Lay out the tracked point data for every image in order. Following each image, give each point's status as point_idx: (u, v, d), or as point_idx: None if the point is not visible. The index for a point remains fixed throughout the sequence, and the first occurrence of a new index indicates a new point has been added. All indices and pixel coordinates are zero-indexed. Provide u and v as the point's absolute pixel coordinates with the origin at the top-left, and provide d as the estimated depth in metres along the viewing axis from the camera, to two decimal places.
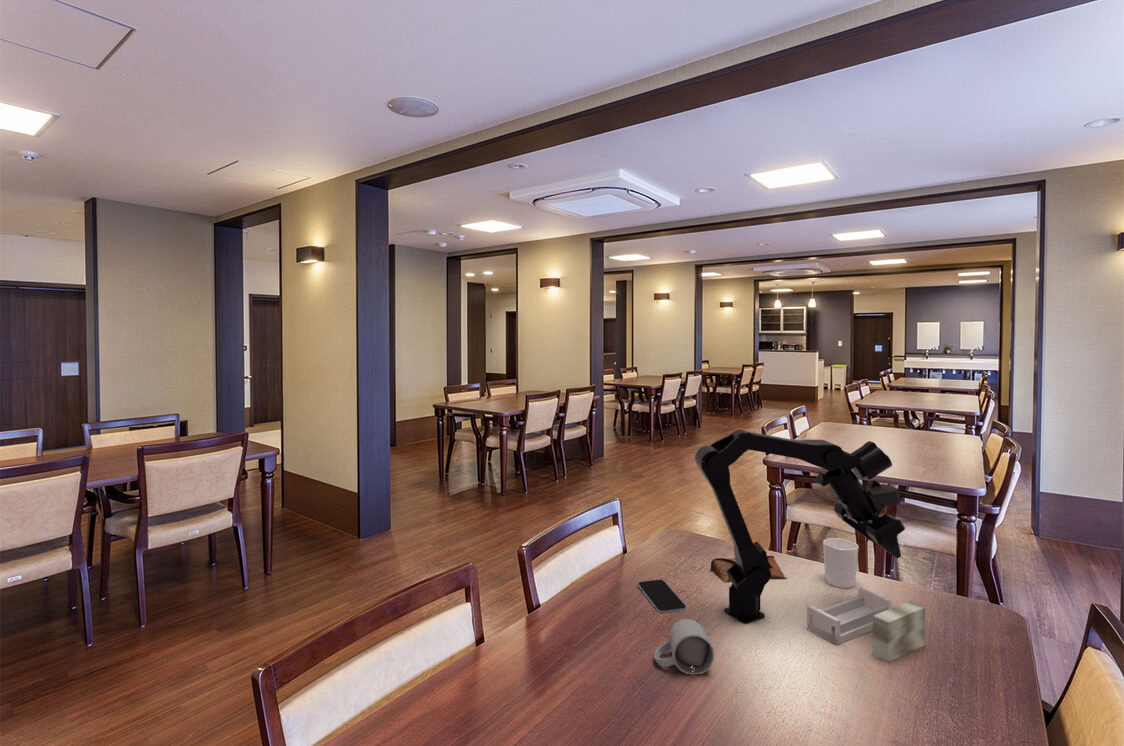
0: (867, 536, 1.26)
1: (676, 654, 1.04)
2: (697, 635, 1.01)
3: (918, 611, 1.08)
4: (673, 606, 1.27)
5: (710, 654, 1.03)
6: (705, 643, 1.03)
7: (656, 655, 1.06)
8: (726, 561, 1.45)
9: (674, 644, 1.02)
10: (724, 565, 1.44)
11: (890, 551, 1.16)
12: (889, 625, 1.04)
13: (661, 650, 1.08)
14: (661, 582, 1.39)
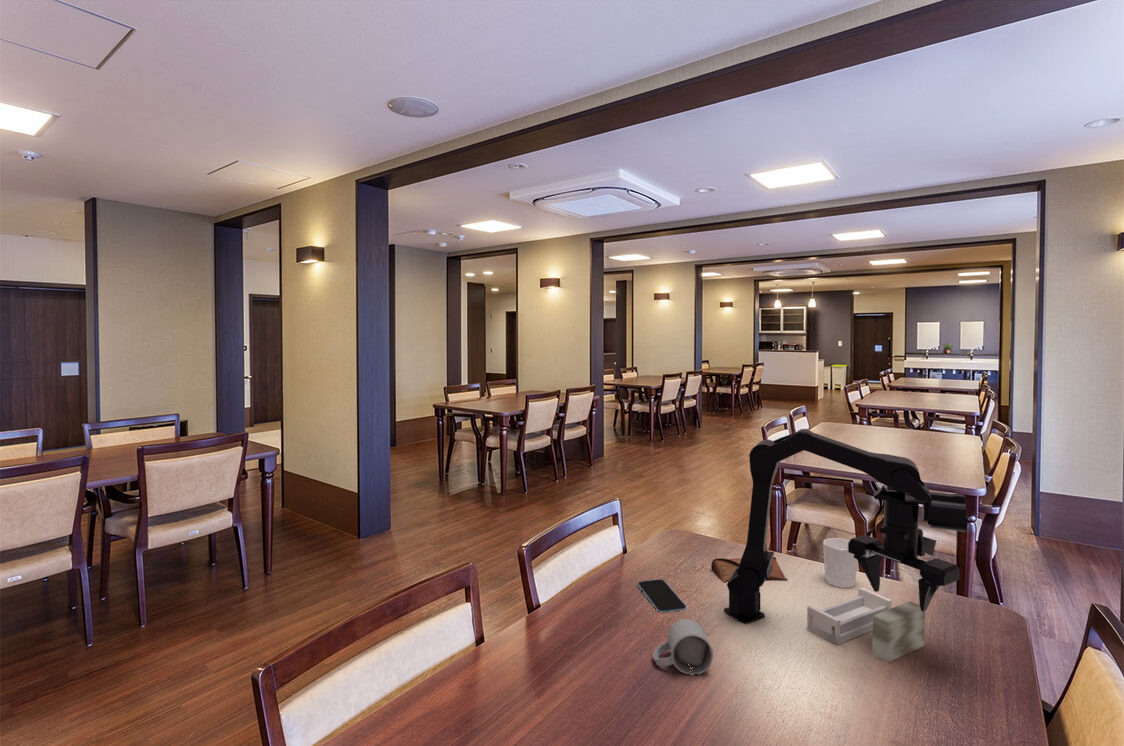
0: (874, 582, 1.11)
1: (675, 654, 1.04)
2: (696, 635, 1.01)
3: (918, 611, 1.08)
4: (673, 606, 1.27)
5: (709, 654, 1.03)
6: (704, 643, 1.03)
7: (655, 655, 1.06)
8: (726, 561, 1.45)
9: (673, 644, 1.02)
10: (724, 565, 1.44)
11: (925, 600, 1.02)
12: (889, 625, 1.04)
13: (660, 650, 1.08)
14: (661, 582, 1.39)
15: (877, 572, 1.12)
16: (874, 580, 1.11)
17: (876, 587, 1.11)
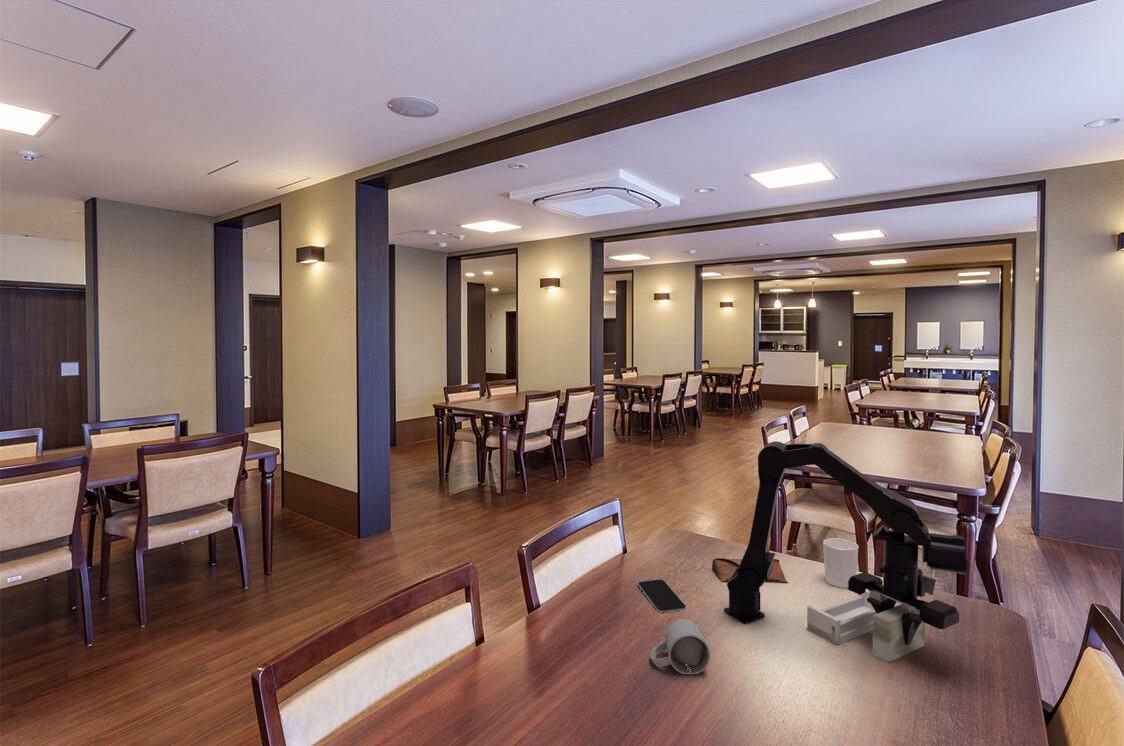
0: None
1: (672, 654, 1.04)
2: (693, 635, 1.01)
3: None
4: (673, 606, 1.27)
5: (706, 654, 1.03)
6: (701, 643, 1.03)
7: (652, 655, 1.06)
8: (727, 561, 1.45)
9: (670, 644, 1.02)
10: (723, 565, 1.44)
11: (909, 635, 1.05)
12: (889, 625, 1.04)
13: (657, 650, 1.08)
14: (661, 582, 1.39)
15: None
16: None
17: None
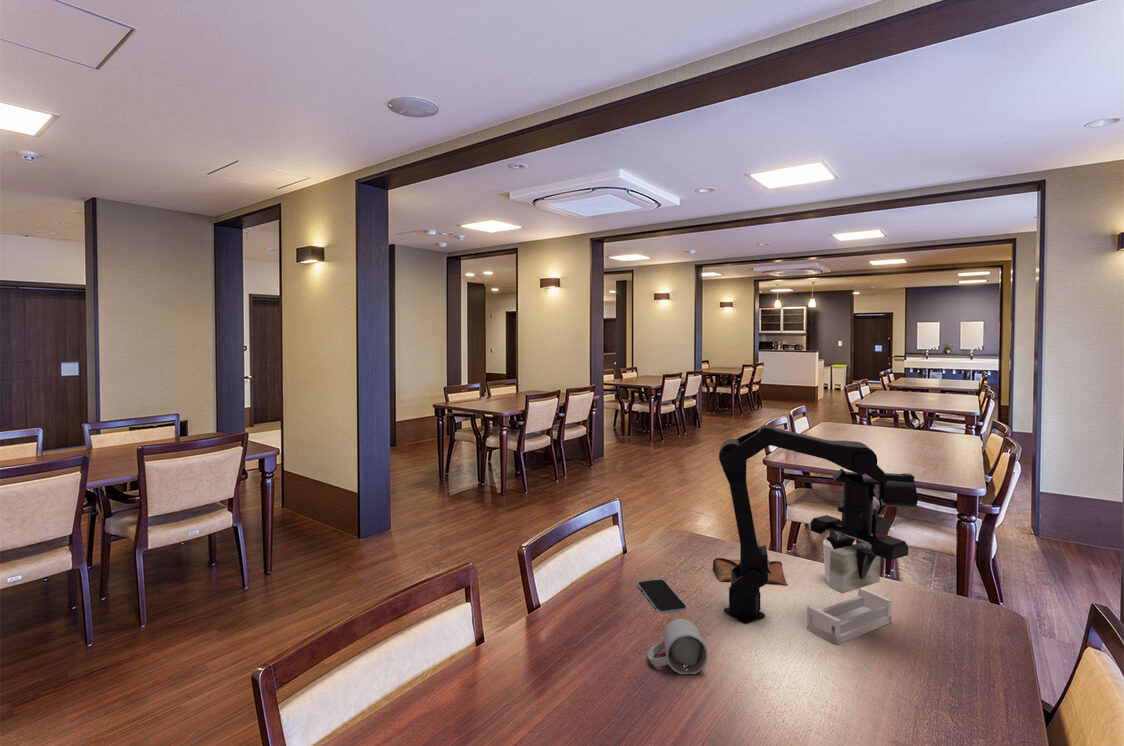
0: None
1: (670, 654, 1.04)
2: (690, 635, 1.01)
3: None
4: (673, 606, 1.27)
5: (704, 654, 1.03)
6: (699, 643, 1.03)
7: (650, 655, 1.06)
8: (727, 562, 1.45)
9: (668, 644, 1.02)
10: (723, 565, 1.44)
11: (863, 568, 1.13)
12: (844, 558, 1.12)
13: (655, 650, 1.08)
14: (661, 582, 1.39)
15: None
16: None
17: None
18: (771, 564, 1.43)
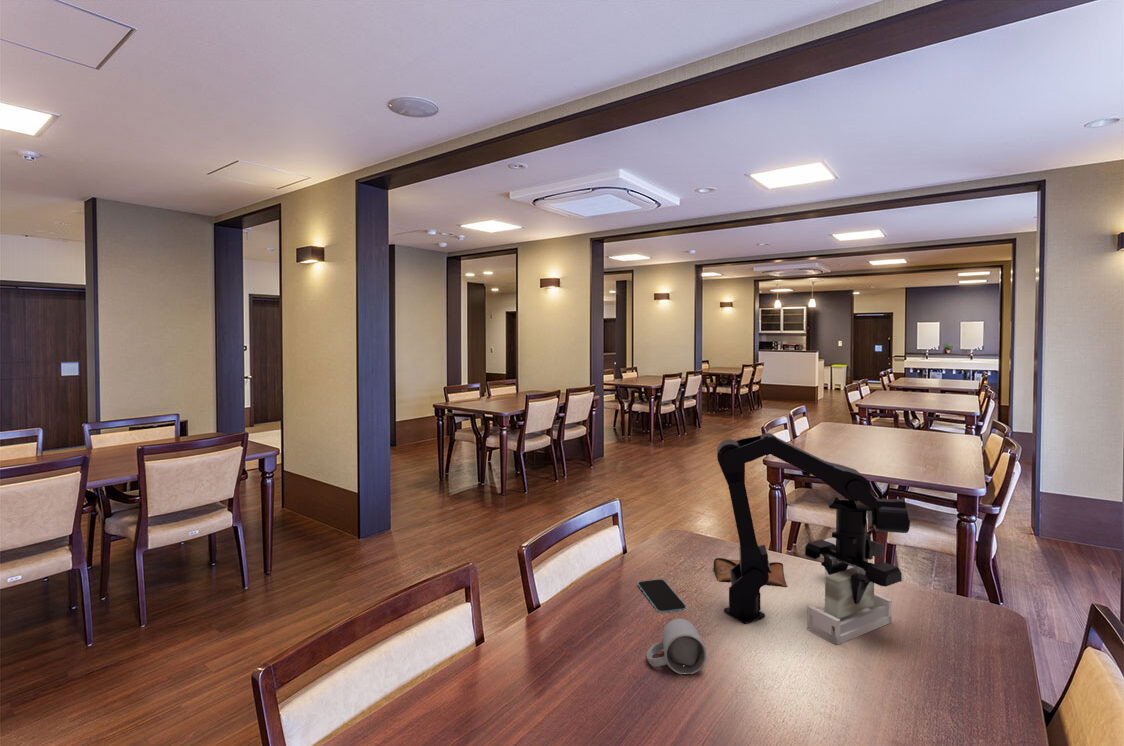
0: None
1: (668, 654, 1.04)
2: (689, 635, 1.01)
3: None
4: (673, 606, 1.27)
5: (702, 654, 1.03)
6: (697, 643, 1.03)
7: (649, 655, 1.06)
8: (727, 562, 1.45)
9: (666, 644, 1.02)
10: (723, 565, 1.44)
11: (858, 594, 1.14)
12: (839, 584, 1.13)
13: (654, 650, 1.08)
14: (661, 581, 1.39)
15: None
16: None
17: None
18: (772, 565, 1.42)
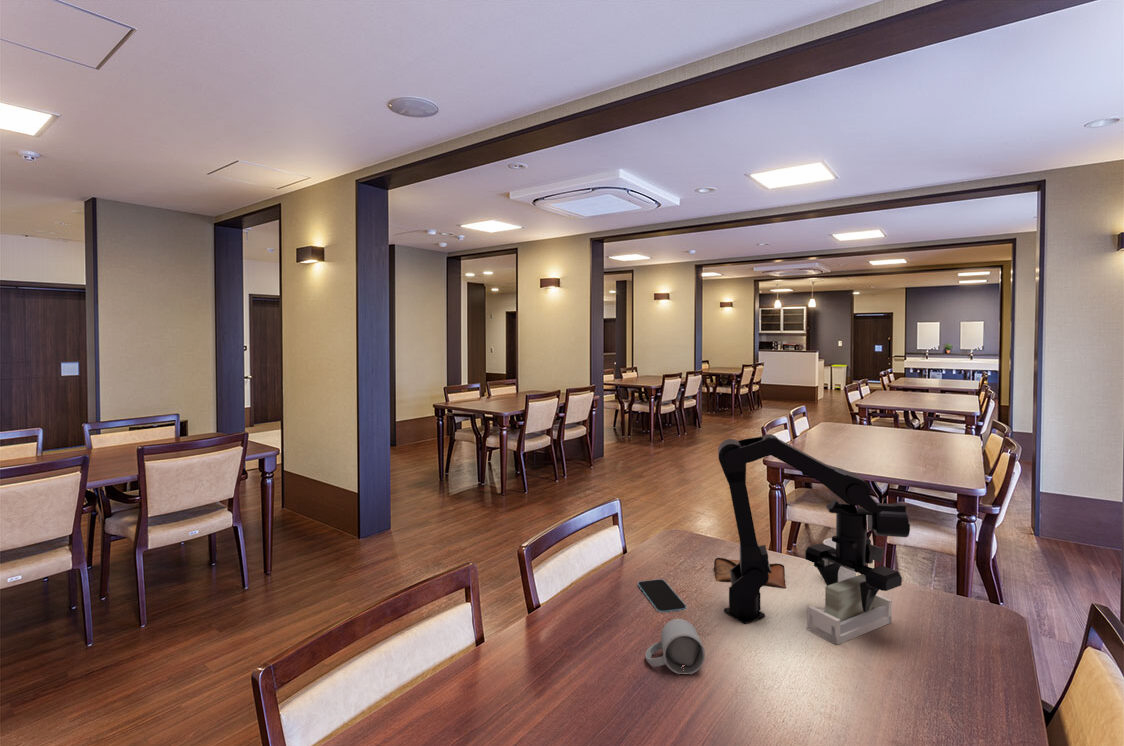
0: None
1: (667, 654, 1.04)
2: (688, 635, 1.01)
3: None
4: (673, 606, 1.27)
5: (701, 654, 1.03)
6: (696, 643, 1.03)
7: (647, 655, 1.06)
8: (727, 562, 1.45)
9: (665, 644, 1.02)
10: (723, 565, 1.44)
11: (867, 602, 1.13)
12: (839, 595, 1.13)
13: (652, 650, 1.08)
14: (661, 582, 1.39)
15: (835, 579, 1.21)
16: None
17: None
18: (772, 566, 1.41)
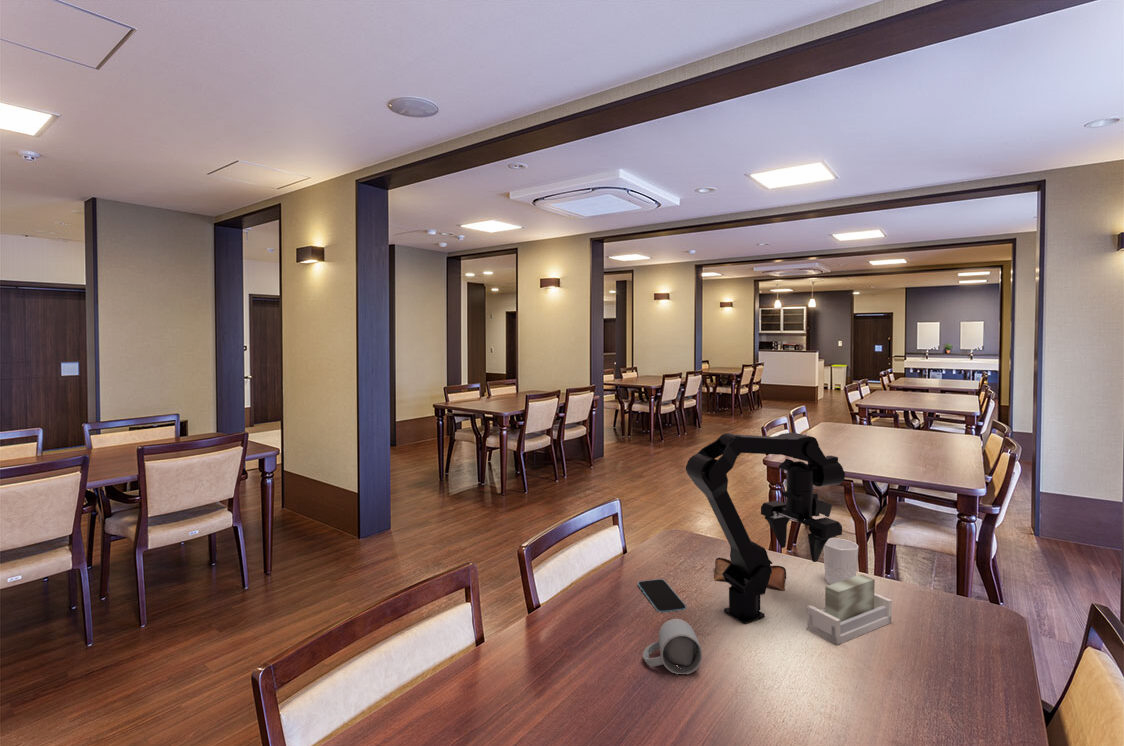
0: (780, 540, 1.30)
1: (665, 654, 1.05)
2: (685, 635, 1.01)
3: (868, 582, 1.17)
4: (673, 606, 1.27)
5: (698, 654, 1.03)
6: (693, 643, 1.03)
7: (645, 655, 1.06)
8: (727, 562, 1.44)
9: (662, 644, 1.02)
10: (722, 565, 1.44)
11: (815, 552, 1.21)
12: (839, 595, 1.13)
13: (650, 650, 1.08)
14: (661, 581, 1.39)
15: (784, 531, 1.31)
16: (780, 538, 1.30)
17: (782, 544, 1.31)
18: (772, 568, 1.40)
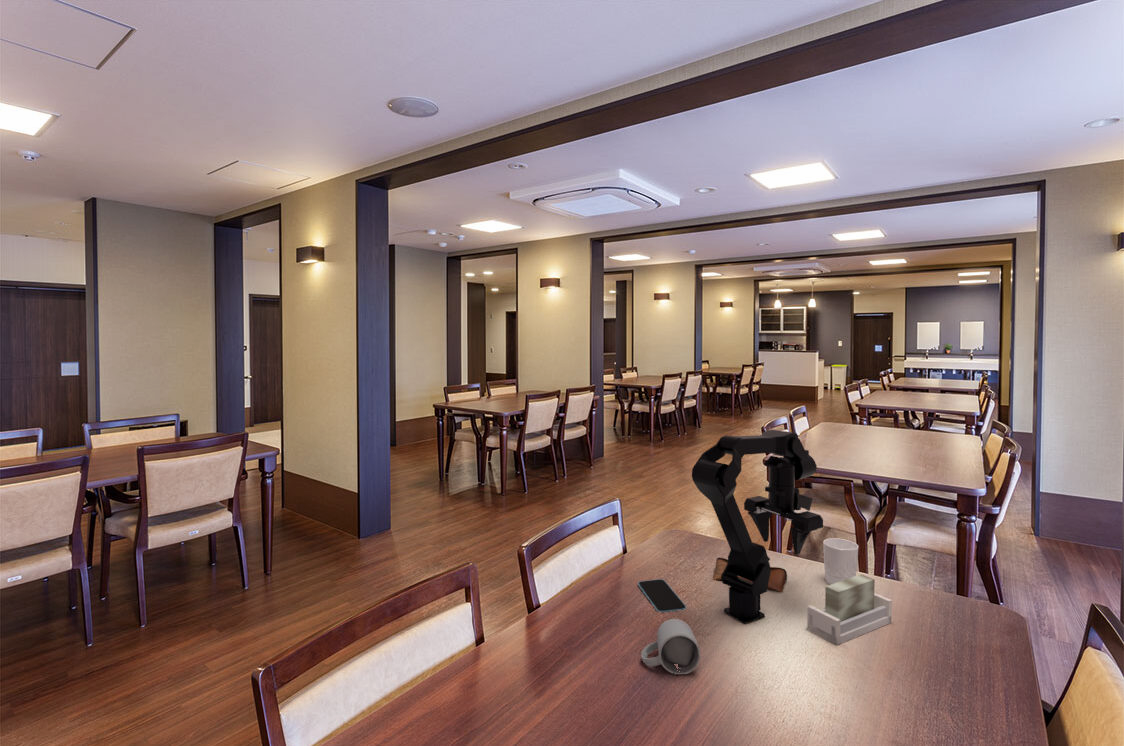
0: (763, 534, 1.34)
1: (663, 654, 1.05)
2: (683, 635, 1.01)
3: (868, 582, 1.17)
4: (673, 606, 1.27)
5: (696, 654, 1.03)
6: (691, 643, 1.03)
7: (643, 655, 1.06)
8: (727, 562, 1.44)
9: (660, 644, 1.02)
10: (722, 565, 1.44)
11: (797, 545, 1.25)
12: (839, 595, 1.13)
13: (648, 650, 1.08)
14: (661, 581, 1.39)
15: (766, 525, 1.35)
16: (763, 532, 1.34)
17: (765, 538, 1.34)
18: (772, 570, 1.39)
